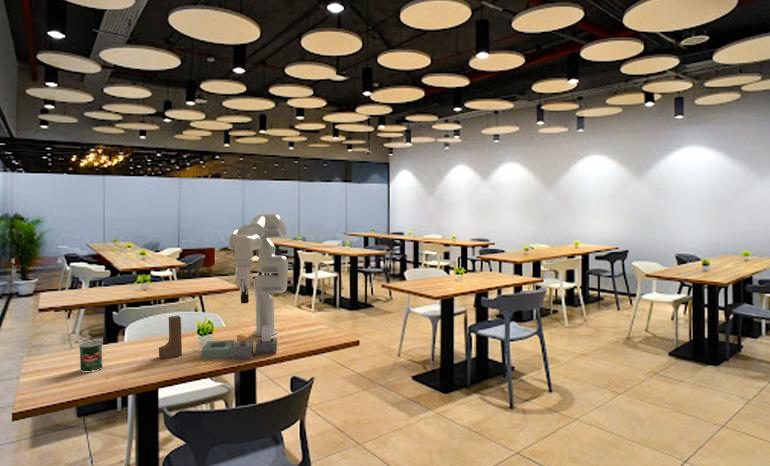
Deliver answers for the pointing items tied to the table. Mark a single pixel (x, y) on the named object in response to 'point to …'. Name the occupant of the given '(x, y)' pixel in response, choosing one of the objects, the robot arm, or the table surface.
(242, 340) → the release button
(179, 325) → the wooden block
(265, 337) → the steel peg
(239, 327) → the table surface
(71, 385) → the table surface
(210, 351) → the green recessed block
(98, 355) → the canned tomato
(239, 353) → the release housing
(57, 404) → the table surface
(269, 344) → the socket block
